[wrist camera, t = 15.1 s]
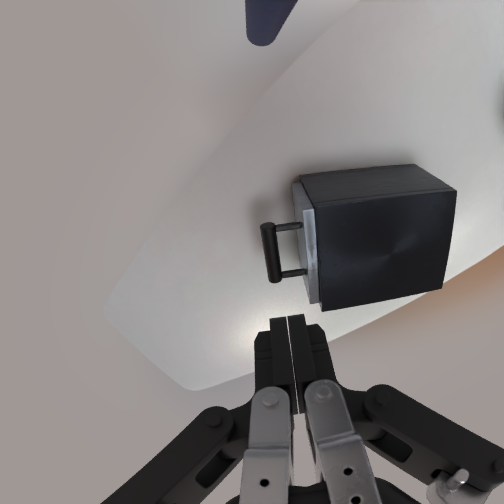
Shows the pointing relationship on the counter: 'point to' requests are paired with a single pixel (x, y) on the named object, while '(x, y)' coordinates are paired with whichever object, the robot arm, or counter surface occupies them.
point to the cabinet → (380, 233)
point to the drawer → (305, 244)
